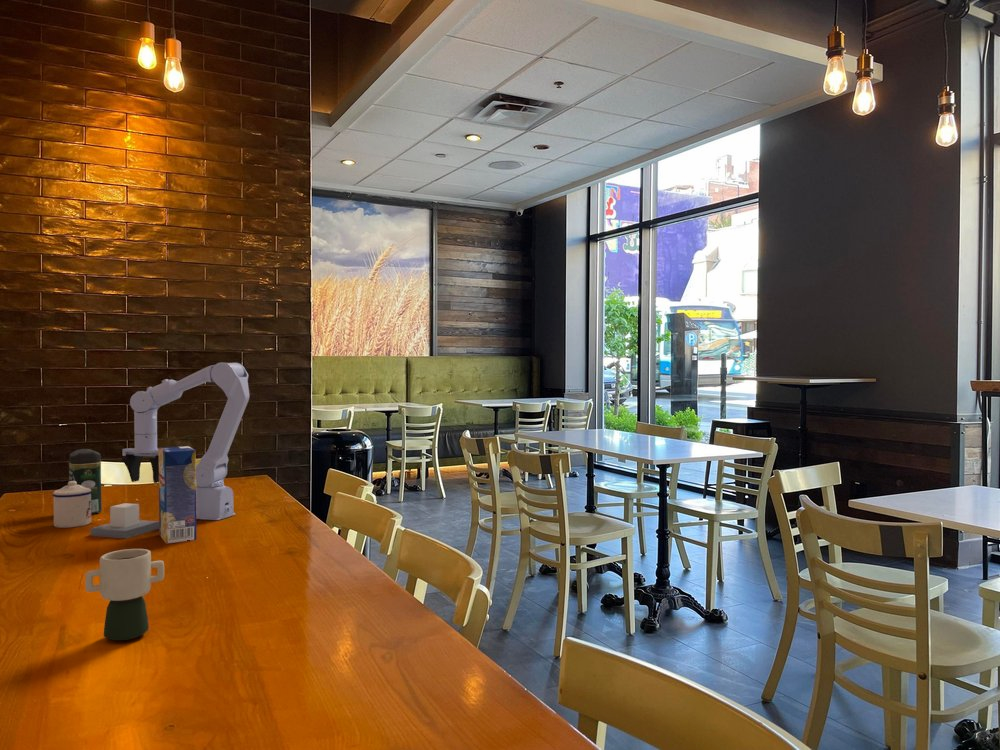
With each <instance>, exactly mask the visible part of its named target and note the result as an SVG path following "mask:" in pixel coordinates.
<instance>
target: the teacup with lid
mask: <svg viewBox="0 0 1000 750" xmlns="http://www.w3.org/2000/svg"><path fill="white" fill-rule="evenodd" d="M76 484H77V482H76V481H69V480H68V482H67V485H65V486H63V487H61V488H59V489H57V490H54V491H53V493H52V497H53V526H54V528H58V529H59V528H61V529H67V528H69V529H70V528H77V527H83V526H87V525H89V524H90V523H92V515H91V493H92V491H91V489H90V488H85V487H83V486H81V485H76Z"/></svg>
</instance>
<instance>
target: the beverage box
mask: <svg viewBox="0 0 1000 750" xmlns="http://www.w3.org/2000/svg"><path fill="white" fill-rule="evenodd" d="M158 449H159V482H158V511H159V512H158V513H159V514H158V515H159V517H158V518H159V529H158V530H159V531H158V533H159V537H160V538H161V539H162V540H163V541H164V543H165V544H173V543H181V542H188V541H187V540H190V541H195V540H194V539H197V519H196V515H197V511H196V466H197V457H196V456H197V455H196V454H197V453H196V452H197V450H196V449H194V448H193V447H191V446H189V445H184V446H183V445H182V446H167V447H158Z"/></svg>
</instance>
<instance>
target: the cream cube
mask: <svg viewBox="0 0 1000 750" xmlns="http://www.w3.org/2000/svg"><path fill="white" fill-rule="evenodd" d="M109 513H110V517H109V518H110V520H109V521H110V522H109V523H110V524H111V526H113V527H128V526H132V525H135V524H139V520H140V503H126V502H124V503H121V504H116V505H112V506H109Z"/></svg>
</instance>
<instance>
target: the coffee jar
mask: <svg viewBox="0 0 1000 750" xmlns="http://www.w3.org/2000/svg"><path fill="white" fill-rule="evenodd" d="M101 457H102V456H101V453H100V452H98V451H95V450H93V449H90V448H82V449H75V451H72V452H71V453H70V454H69V458H68V482H69V481H76V482H77V484H76V485H81V486H83V487H85V488H90V489H91V491H92V493H91V516H92V515H94V514H99V513H101V512H102V510H103V507H102V506H103V505H102V504H103V503H102V458H101Z"/></svg>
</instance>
